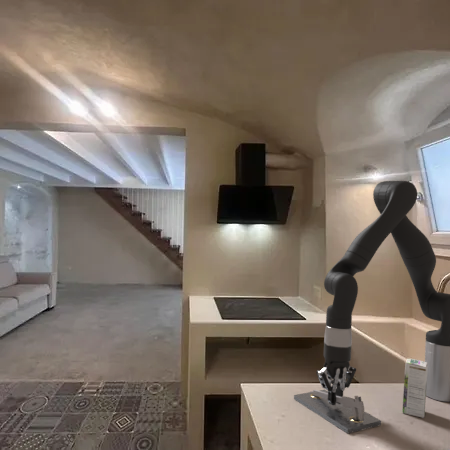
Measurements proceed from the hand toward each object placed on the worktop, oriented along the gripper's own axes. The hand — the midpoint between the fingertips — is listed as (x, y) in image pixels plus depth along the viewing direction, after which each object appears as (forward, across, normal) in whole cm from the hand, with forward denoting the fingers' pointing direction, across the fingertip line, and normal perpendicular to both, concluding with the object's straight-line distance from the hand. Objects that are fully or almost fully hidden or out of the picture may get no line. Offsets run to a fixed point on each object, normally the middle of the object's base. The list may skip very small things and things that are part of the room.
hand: (335, 403), depth 112 cm
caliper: (+1, 0, 0) cm, 1 cm away
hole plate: (+2, 0, 0) cm, 2 cm away
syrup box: (+2, -22, +9) cm, 24 cm away
